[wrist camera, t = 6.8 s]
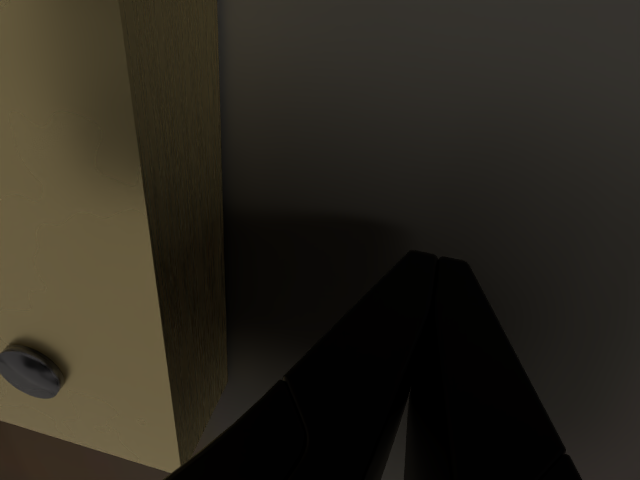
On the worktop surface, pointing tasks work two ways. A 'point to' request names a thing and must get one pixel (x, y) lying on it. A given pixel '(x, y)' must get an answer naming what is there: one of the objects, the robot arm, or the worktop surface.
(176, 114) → the olive box with knob
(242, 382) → the worktop surface
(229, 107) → the worktop surface
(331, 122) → the worktop surface
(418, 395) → the robot arm
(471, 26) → the worktop surface
